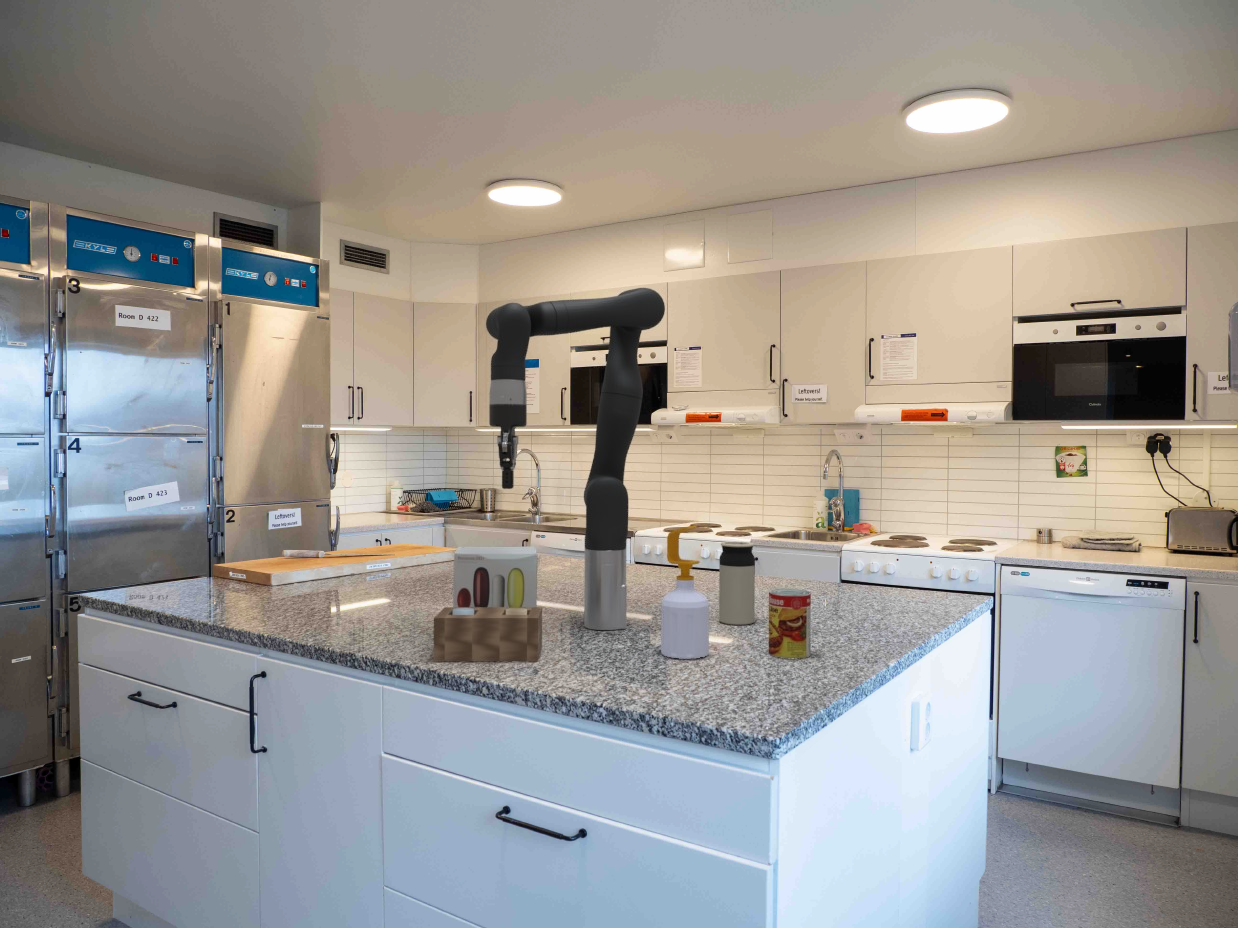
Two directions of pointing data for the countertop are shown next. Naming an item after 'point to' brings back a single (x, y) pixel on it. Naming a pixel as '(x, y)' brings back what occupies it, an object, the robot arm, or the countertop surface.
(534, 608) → the walnut block
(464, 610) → the blue-grey peg
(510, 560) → the supplement box
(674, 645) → the soap bottle
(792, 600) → the canned food
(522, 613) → the birch peg
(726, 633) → the countertop surface
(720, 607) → the travel mug
